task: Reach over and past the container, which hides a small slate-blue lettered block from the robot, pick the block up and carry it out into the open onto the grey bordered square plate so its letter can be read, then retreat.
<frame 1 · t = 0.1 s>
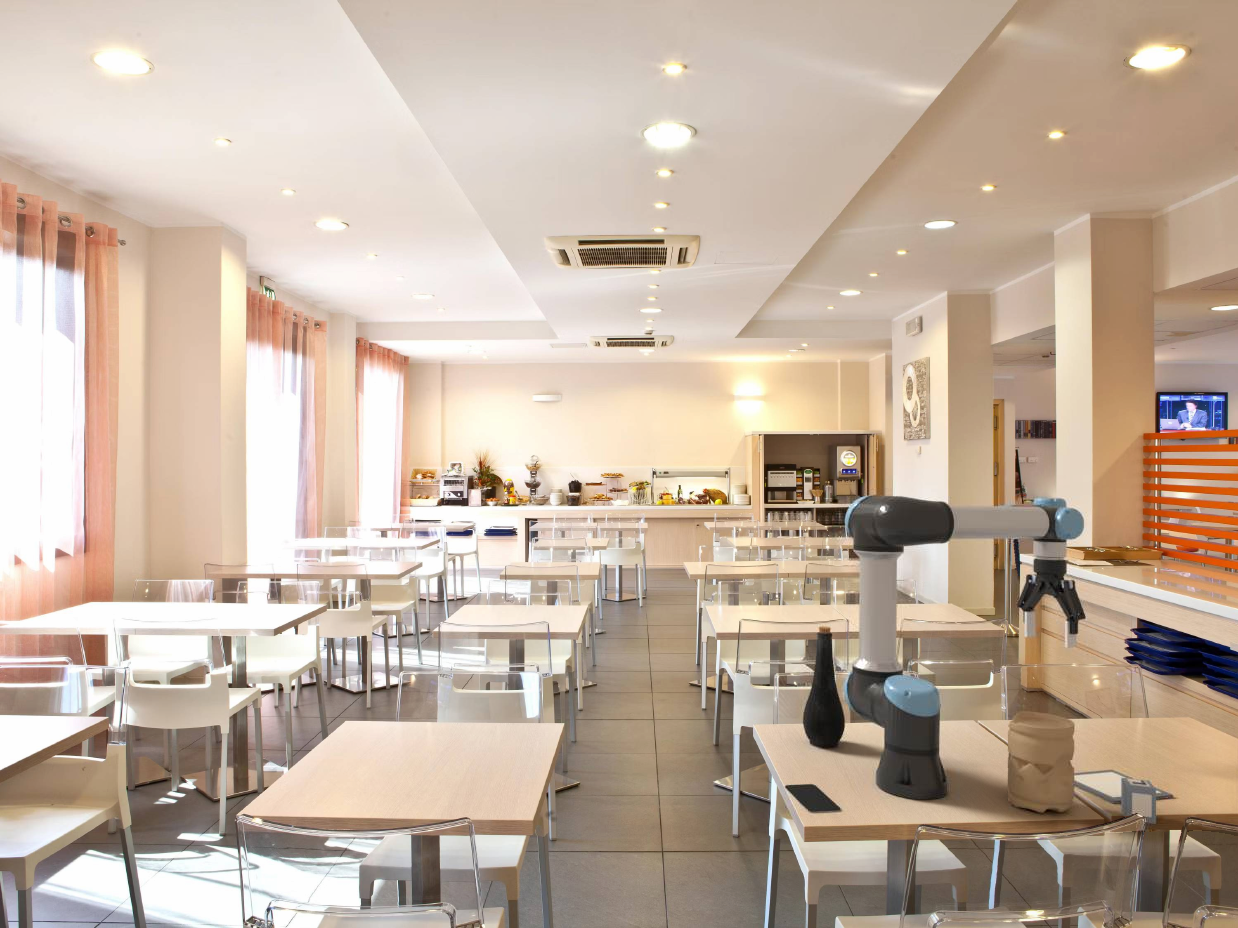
hand: (1049, 641, 209), 28 cm above the table, fingers open, 13 cm apart
container: (1040, 805, 174), on the table
grey bordered square plate: (1112, 786, 185), on the table
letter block: (1138, 817, 168), on the table
smartphone: (811, 800, 176), on the table
bottle: (823, 744, 213), on the table
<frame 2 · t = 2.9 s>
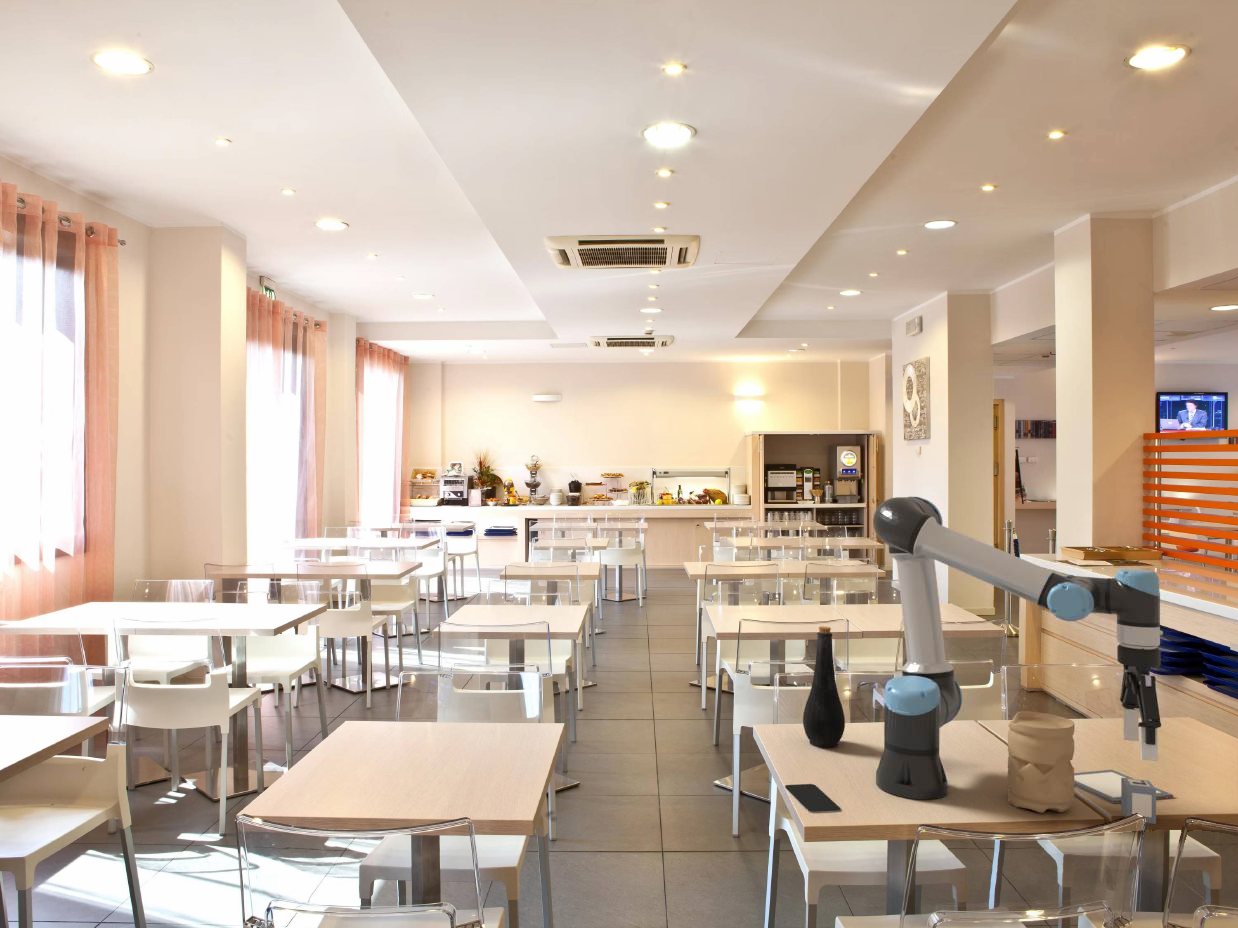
hand: (1139, 749, 168), 14 cm above the table, fingers open, 13 cm apart
nothing on the table moved.
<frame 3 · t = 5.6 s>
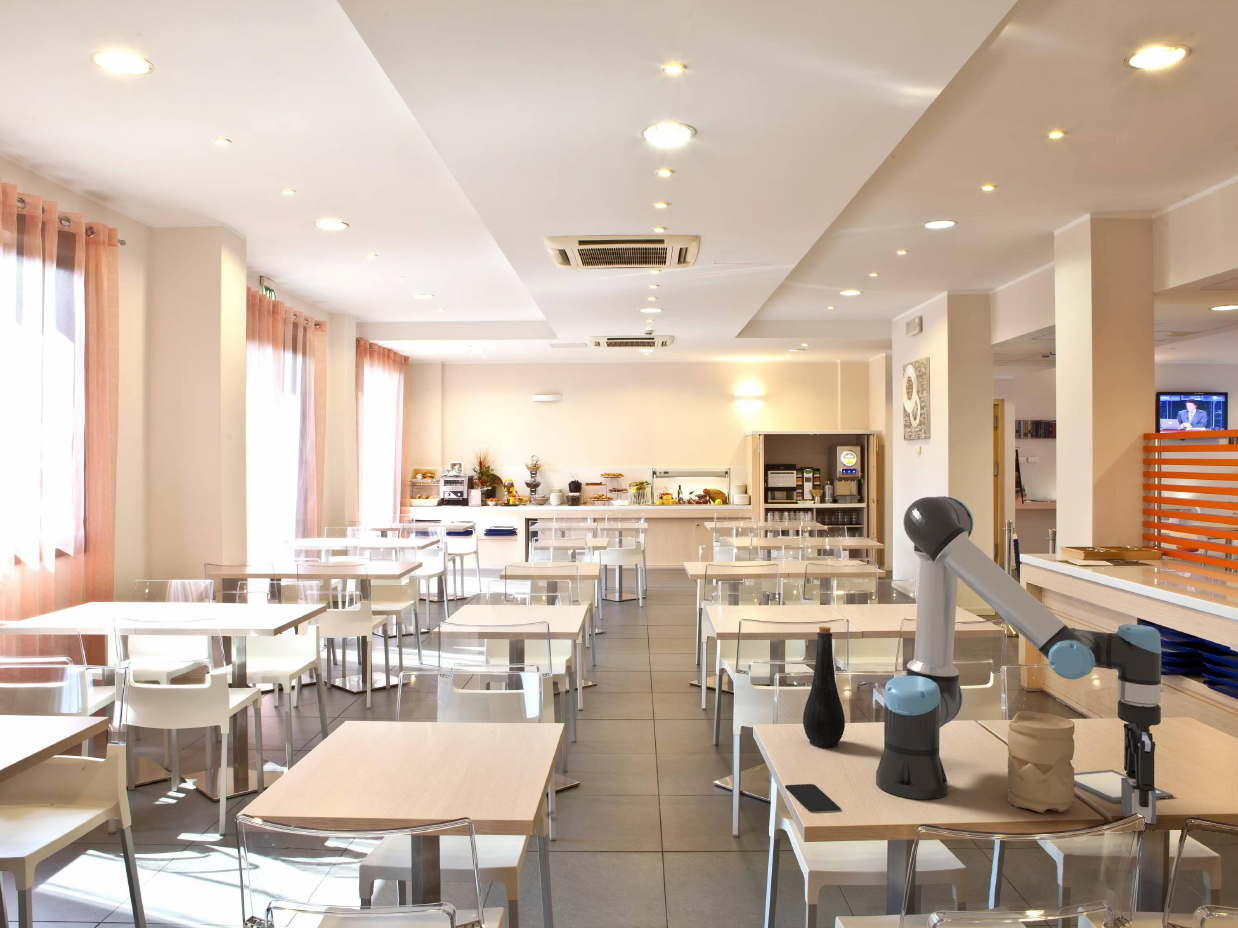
hand: (1138, 815, 168), 0 cm above the table, fingers closed on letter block, 5 cm apart
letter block: (1138, 817, 168), on the table, touching gripper
everything else where it was.
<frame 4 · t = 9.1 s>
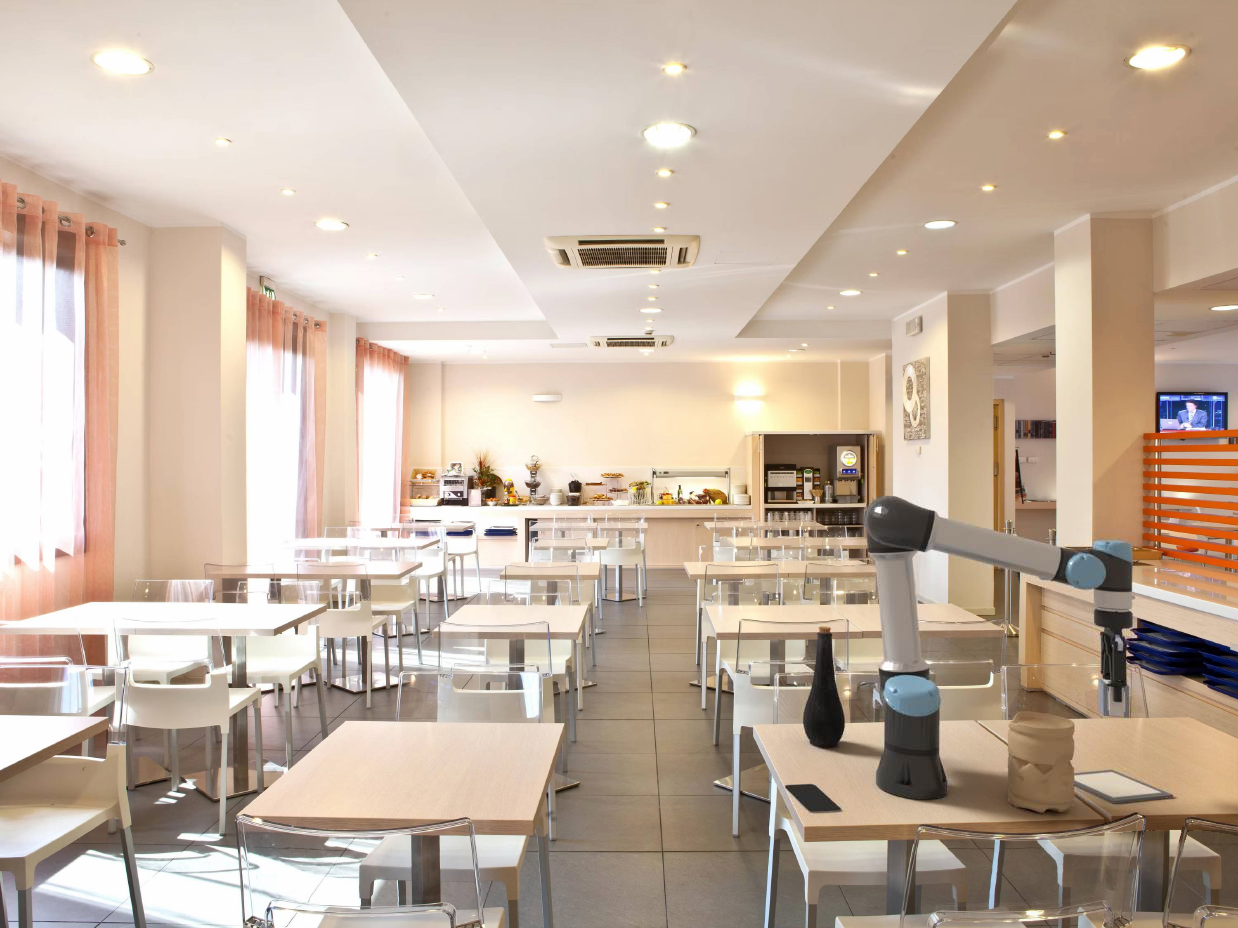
hand: (1113, 712, 185), 17 cm above the table, fingers closed on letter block, 5 cm apart
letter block: (1113, 713, 185), point 16 cm above the table, touching gripper
everything else where it was.
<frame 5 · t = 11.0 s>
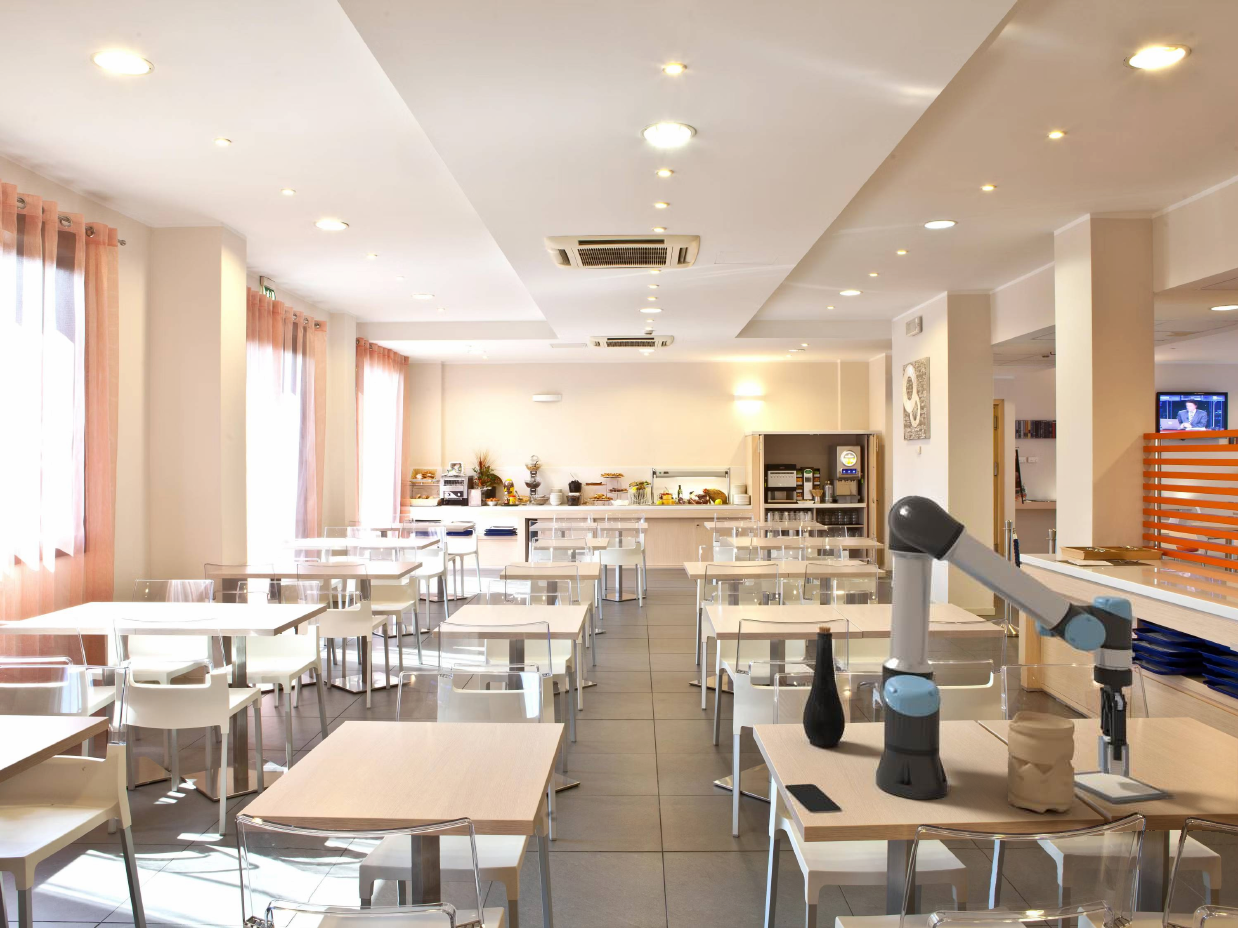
hand: (1113, 769, 185), 4 cm above the table, fingers closed on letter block, 5 cm apart
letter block: (1113, 771, 185), point 4 cm above the table, touching gripper
everything else where it was.
when the fingers open (2 cm above the table, at t = 12.3 s): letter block stays where it is, resting on grey bordered square plate.
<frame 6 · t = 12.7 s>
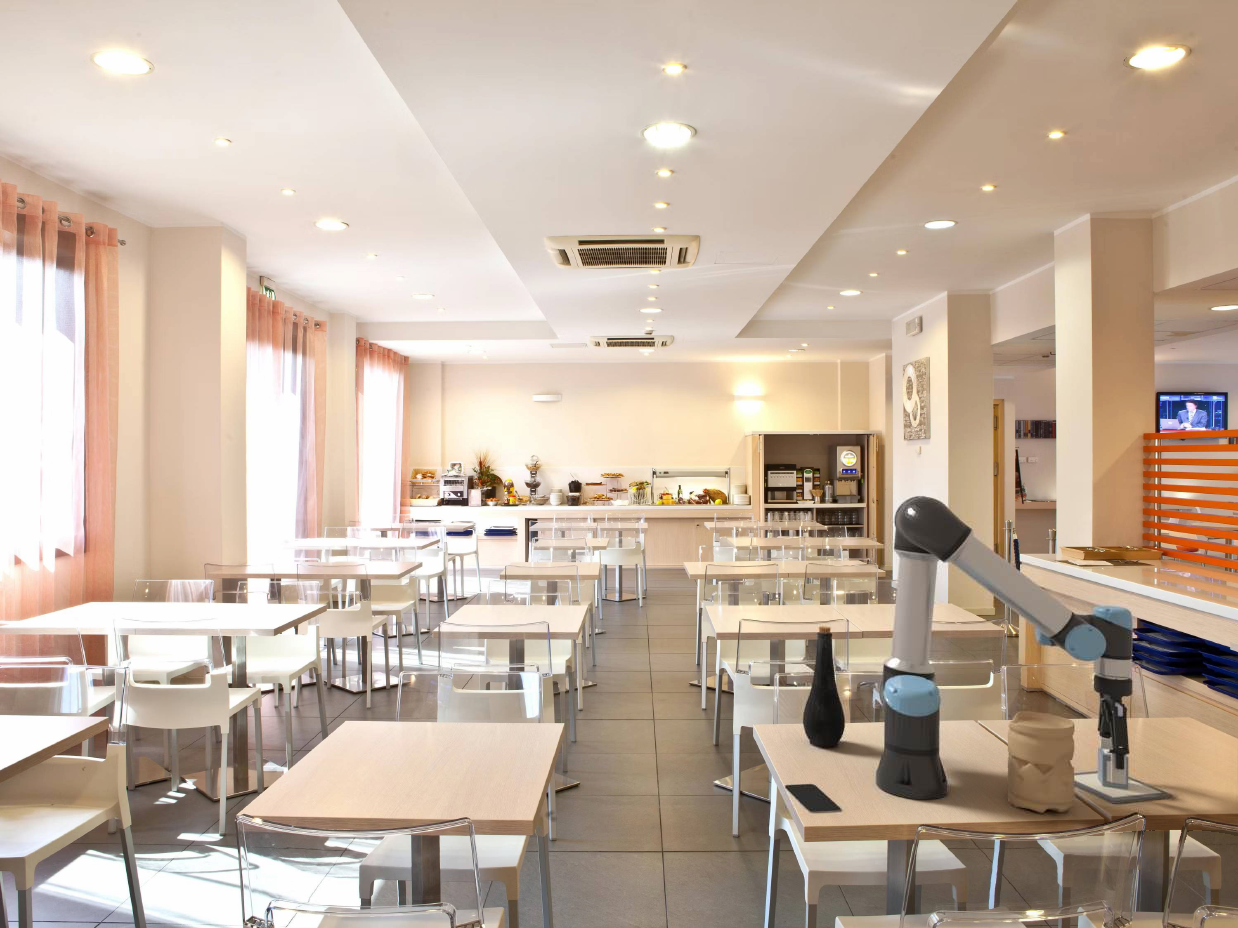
hand: (1112, 774, 185), 3 cm above the table, fingers open, 10 cm apart
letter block: (1112, 783, 185), point 1 cm above the table, touching grey bordered square plate
everything else where it was.
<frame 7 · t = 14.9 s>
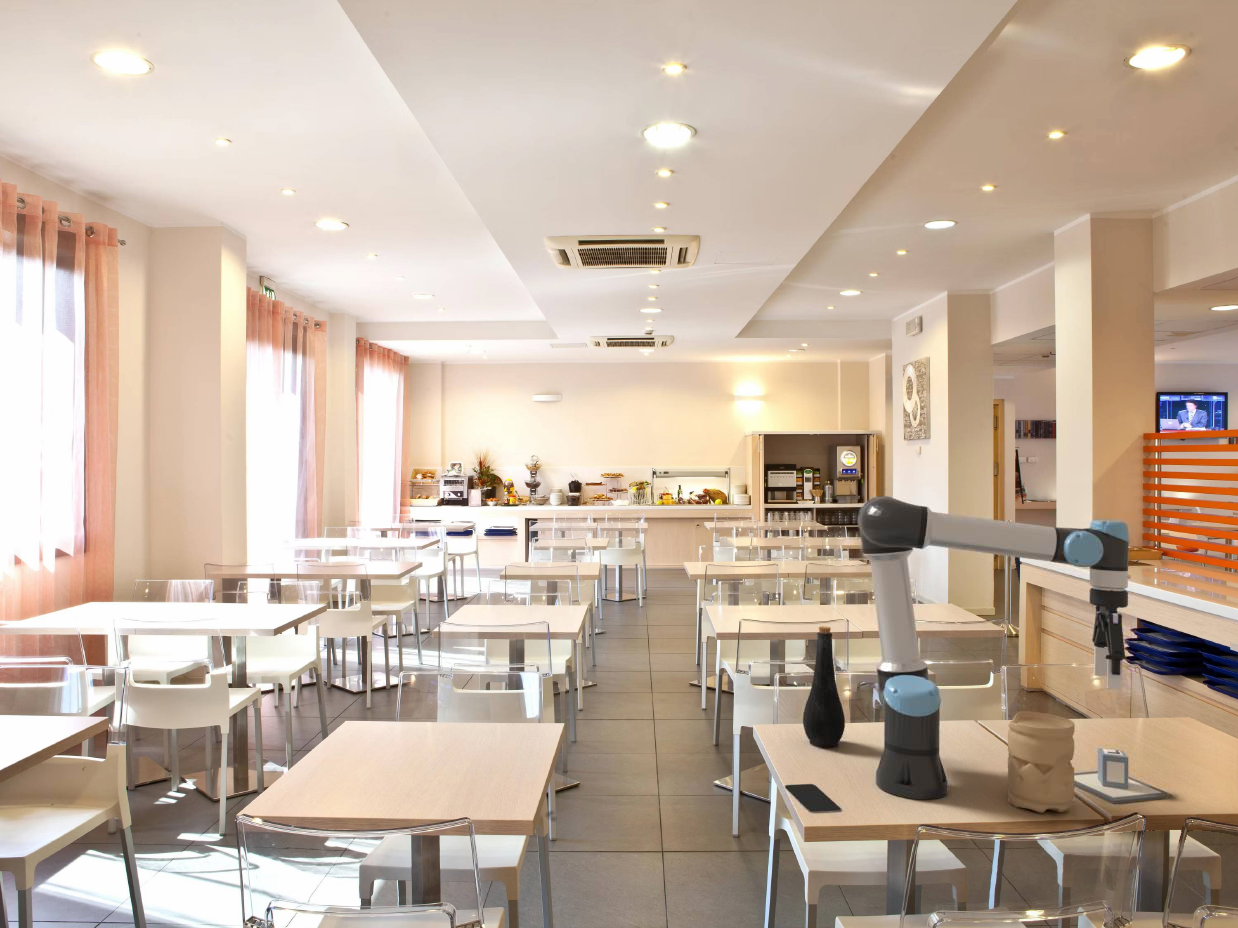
hand: (1107, 682, 186), 23 cm above the table, fingers open, 13 cm apart
nothing on the table moved.
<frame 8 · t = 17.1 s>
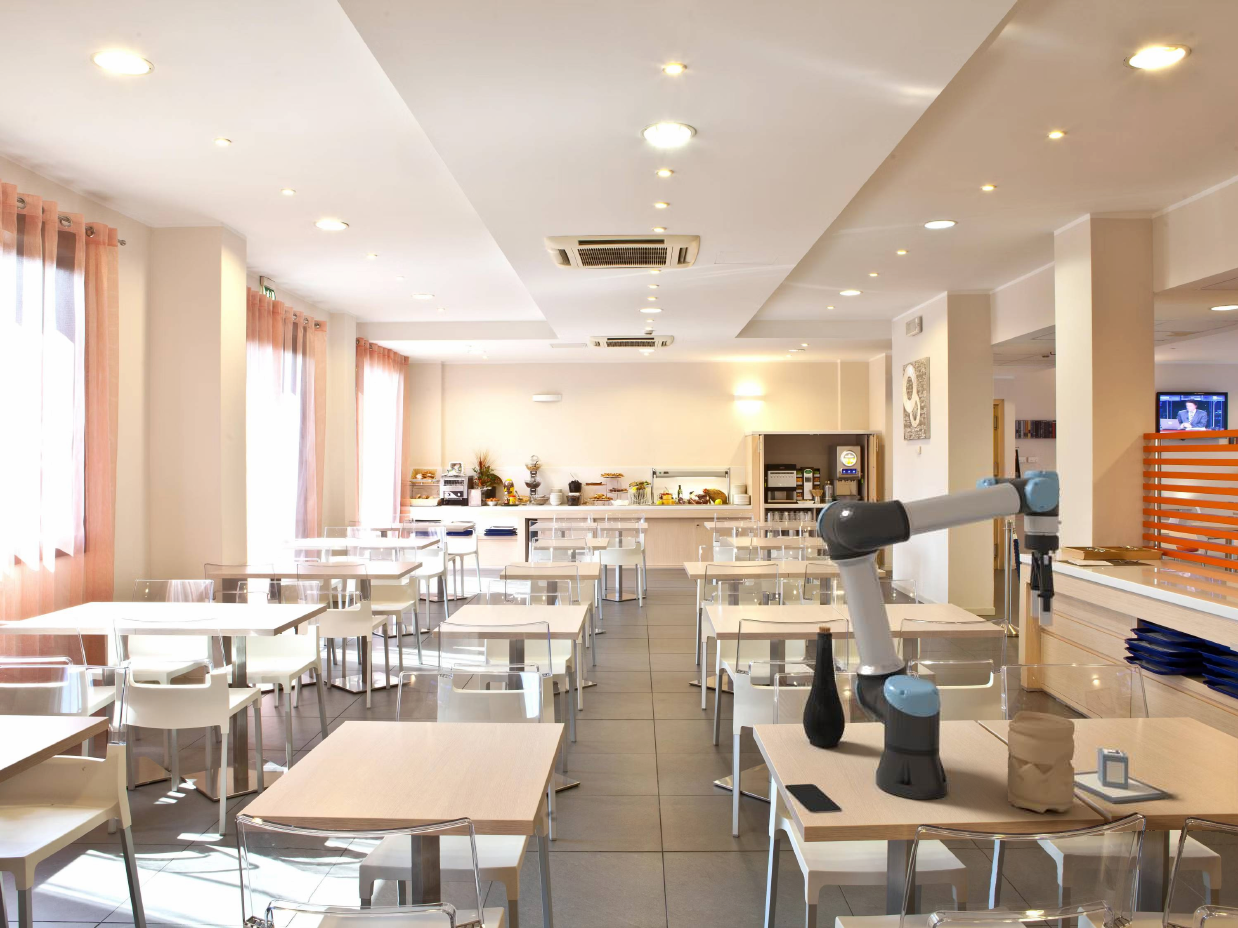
hand: (1041, 621, 200), 35 cm above the table, fingers open, 13 cm apart
nothing on the table moved.
at the end: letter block inside the target area on the grey bordered square plate (0.1 cm from its centre), point 0.7 cm above the grey bordered square plate's base; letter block tilted 0°; container moved 0.2 cm from its start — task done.
